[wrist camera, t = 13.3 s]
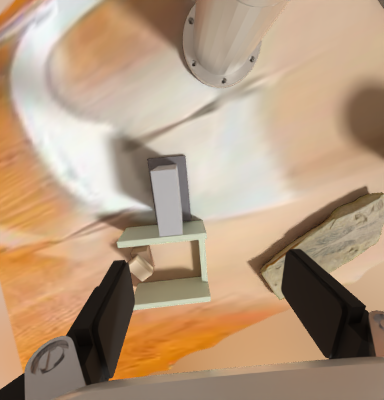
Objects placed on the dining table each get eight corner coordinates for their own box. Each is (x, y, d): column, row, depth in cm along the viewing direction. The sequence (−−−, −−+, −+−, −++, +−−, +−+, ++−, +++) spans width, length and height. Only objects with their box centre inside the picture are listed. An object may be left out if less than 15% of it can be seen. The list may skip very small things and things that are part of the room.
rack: (126, 227, 37) (116, 242, 31) (202, 219, 37) (206, 232, 31) (138, 287, 41) (132, 310, 35) (206, 280, 41) (210, 301, 36)
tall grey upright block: (158, 165, 33) (150, 171, 24) (177, 164, 33) (175, 169, 25) (165, 215, 36) (159, 236, 27) (182, 214, 36) (182, 234, 27)
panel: (147, 158, 33) (147, 158, 33) (185, 155, 33) (185, 155, 33) (157, 222, 37) (157, 223, 36) (190, 219, 37) (191, 220, 36)
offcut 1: (134, 246, 38) (130, 253, 35) (149, 243, 38) (146, 251, 35) (140, 267, 40) (137, 277, 37) (154, 265, 40) (152, 274, 37)
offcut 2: (128, 261, 36) (125, 267, 34) (138, 253, 35) (135, 259, 34) (144, 275, 37) (142, 281, 35) (153, 267, 36) (152, 274, 35)
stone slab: (403, 230, 38) (286, 310, 40) (381, 223, 42) (276, 295, 44) (384, 186, 35) (258, 276, 37) (362, 183, 39) (250, 264, 41)
